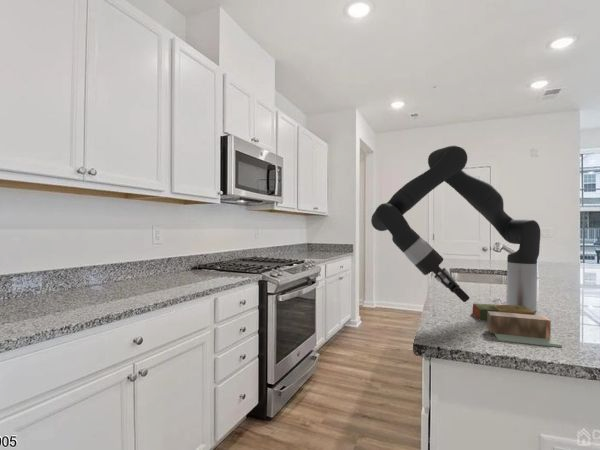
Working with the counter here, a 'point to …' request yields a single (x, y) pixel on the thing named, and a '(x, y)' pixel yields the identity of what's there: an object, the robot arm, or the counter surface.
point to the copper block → (519, 324)
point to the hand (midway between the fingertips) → (466, 299)
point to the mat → (529, 340)
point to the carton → (498, 310)
